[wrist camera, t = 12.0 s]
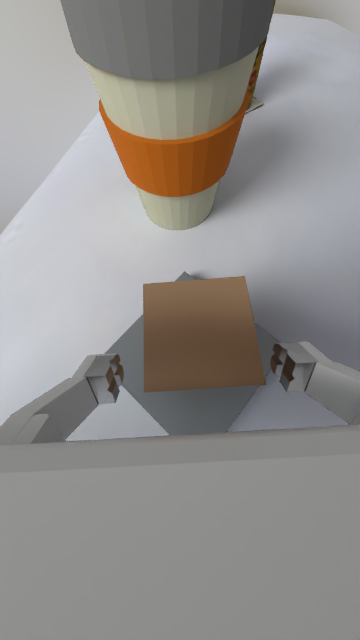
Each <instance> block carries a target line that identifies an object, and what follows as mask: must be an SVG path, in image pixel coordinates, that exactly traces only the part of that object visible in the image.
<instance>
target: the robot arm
mask: <svg viewBox="0 0 360 640" xmlns="http://www.w3.org/2000/svg"><path fill="white" fill-rule="evenodd" d="M273 351H274V354H273V355H272V356H271V360H270V364H271V368H272V371H273V372H274V374H275V375H276V376H278V377H280V381H279V382H280V383H281V384H282V386H283V387H284V389H285V390H286V392H305V393H306V394H308V395H309V396H310V397H312V398H313V399H315V400H316V401H318V402H319V403H320V404H322V405H323V406H325V407H326V408H327V409H329V410H330V411H332V412H333V413H335V414H336V415H337V416H339V417H340V418H342V419H343V420H344V421H346V422H347V423H349V424H350V425H346V426H329V427H311V428H294V429H277V430H260V431H243V432H225V433H207V434H189V435H171V436H154V437H136V438H119V439H101V440H84V441H66V440H65V439H66V438H67V437H68V436H69V435H70V434H71V433H72V432H73V431H74V430H75V429H76V428H77V427H78V426H79V425H80V424H81V423H82V422H83V421H84V420H85V419H86V417H87V416H88V415H89V414H90V413H91V412H92V411H93V410H94V409H95V408H96V407H97V406H98V404H107V403H116V400H117V397H118V394H119V388H118V387H119V386H121V385H122V383H123V379H124V369H123V366H122V365H120V364H119V363H120V360H121V359H120V356H119V355H118V354H99V355H89V356H87V357H86V358H85V360H84V361H83V363H82V364H81V365H80V367H79V368H78V370H77V371H76V373H75V374H74V375H73V377H72V378H68V379H67V380H65V381H63V382H62V383H60V384H59V385H57V386H56V387H54V388H52V389H51V390H49V391H48V392H46V393H45V394H43V395H42V396H40V397H38V398H37V399H35V400H34V401H32V402H31V403H29V404H27V405H26V406H24V407H23V408H21V409H20V410H18V411H16V412H15V413H13V414H12V415H11V416H10V417H9V418H8V419H7V420H6V421H5V423H4V424H3V425H2V426H1V427H0V640H360V371H358V370H355V369H353V368H350V367H348V366H345V365H343V364H340V363H338V362H335V361H330V360H329V359H328V358H327V357H326V356H325V355H323V354H322V353H321V352H320V351H319V350H318V349H316V348H315V347H314V346H313V345H312V344H311V343H309V342H308V341H297V342H288V343H275V345H274V346H273Z"/></svg>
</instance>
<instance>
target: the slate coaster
mask: <svg viewBox="0 0 360 640" xmlns="http://www.w3.org/2000/svg"><path fill="white" fill-rule="evenodd" d="M189 280H196V279H194V278H193V277H191V276H190V275H189V274H187V273H186V272H185V271H184V272H183V274H182V275H181V276H180V277H179V278H178V279H177V280H176V281H175V282H177V281H189ZM254 326H255V331H256V336H257V341H258V346H259V351H260V356H261V361H262V366H263V371H264V376H265V377H266V375H267V374H268V373H269V371H270V370H271V364H270V360H271V356H272V355H273V354H274V351H273V346H274V345H275V343H281V342H279V341H278V340H277V339H275V338H274V337H273V336H271V335H270V334H269V333H267V332H266V331H265V330H263V329H262V328H260V327H259V326H258V325H256V324H255V323H254ZM105 354H118V355H119V356H120V359H121V360H120V363H119V364H120V365H122V366H123V369H124V379H123V383H122V386H123V387H124V388H125V389H126V390H127V391H128V392H129V393H130V394H131V395H132V396H133V397H134V398H135V399H136V400H137V401H138V402H139V403H140V404H141V405H142V407H143V408H144V409H145V410H146V411H147V412H148V413H149V414H150V415H151V416H152V417H153V418H154V419H155V420H156V421H157V422H158V423H159V424H160V425H161V426H162V427H163V428H164V429H165V430H166V431H167V432H168V433H169V435H170V436H171V435H189V434H207V433H225V432H227V430H228V429H229V428H230V426H231V425H232V423H233V422H234V421H235V419H236V418H237V416H238V415H239V413H240V412H241V411H242V409H243V408H244V406H245V405H246V404H247V402H248V401H249V399H250V398H251V397H252V395H253V394H254V392H255V391H256V390H257V388H258V387H259V385H252V386H237V387H222V388H207V389H193V390H178V391H163V392H148V393H144V317H143V315H142V316H141V317H140V318H139V319H138V320H137V321H136V322H135V323H134V324H133V325H132V326H131V327H130V328H129V329H128V330H127V331H126V332H125V333H124V334H123V335H122V336H121V337H120V338H119V339H118V340H117V341H116V342H115V343H114V345H113V346H112V347H111V348H110V349H109V350H108V351H107V352H106V353H105Z"/></svg>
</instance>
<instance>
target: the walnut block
mask: <svg viewBox="0 0 360 640" xmlns="http://www.w3.org/2000/svg"><path fill="white" fill-rule="evenodd" d="M143 317H144V393H148V392H163V391H178V390H193V389H207V388H222V387H237V386H252V385H266V381H265V376H264V371H263V366H262V361H261V356H260V351H259V346H258V341H257V336H256V331H255V326H254V320H253V315H252V310H251V305H250V300H249V295H248V290H247V285H246V280H245V276H241V277H228V278H215V279H202V280H189V281H177V282H164V283H151V284H143Z"/></svg>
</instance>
